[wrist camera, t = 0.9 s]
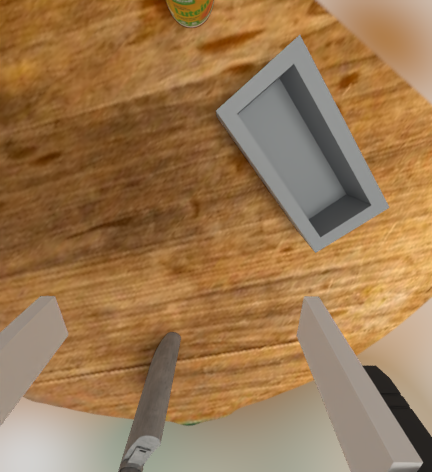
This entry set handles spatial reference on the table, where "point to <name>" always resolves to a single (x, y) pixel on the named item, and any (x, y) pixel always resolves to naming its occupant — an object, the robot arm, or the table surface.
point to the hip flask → (152, 406)
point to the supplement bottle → (190, 11)
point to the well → (302, 148)
